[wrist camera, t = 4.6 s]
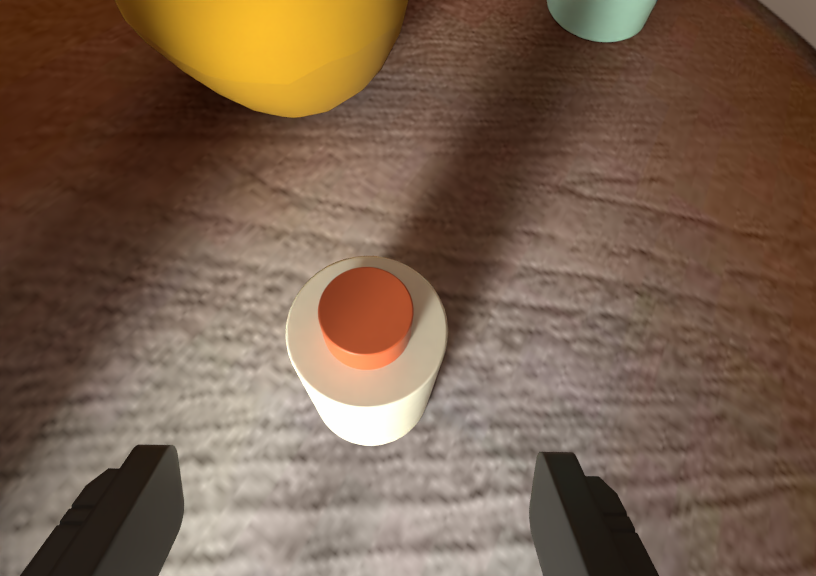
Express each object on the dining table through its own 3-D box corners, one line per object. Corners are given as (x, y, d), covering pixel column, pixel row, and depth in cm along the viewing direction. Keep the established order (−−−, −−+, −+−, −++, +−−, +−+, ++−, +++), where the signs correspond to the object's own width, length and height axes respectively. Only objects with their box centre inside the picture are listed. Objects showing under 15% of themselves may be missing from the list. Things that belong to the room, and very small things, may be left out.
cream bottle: (448, 362, 24) (482, 275, 16) (396, 467, 22) (404, 431, 14) (349, 313, 25) (332, 205, 16) (292, 411, 23) (240, 345, 15)
